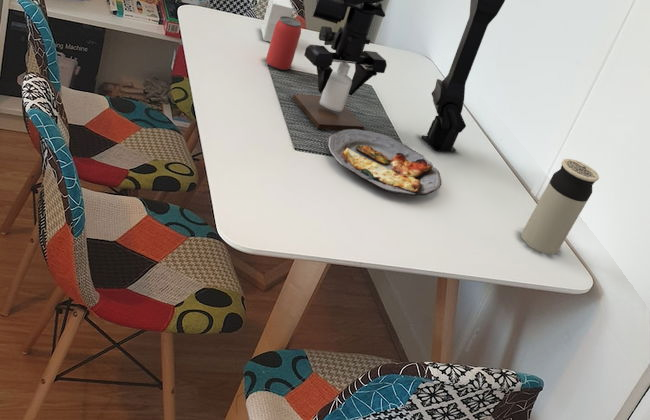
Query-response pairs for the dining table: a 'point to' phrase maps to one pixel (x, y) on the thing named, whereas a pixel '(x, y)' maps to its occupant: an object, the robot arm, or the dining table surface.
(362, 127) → the walnut board
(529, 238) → the travel mug
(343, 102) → the eye dropper bottle
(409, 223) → the dining table surface
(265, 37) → the small box
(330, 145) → the food plate
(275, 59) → the beer can
